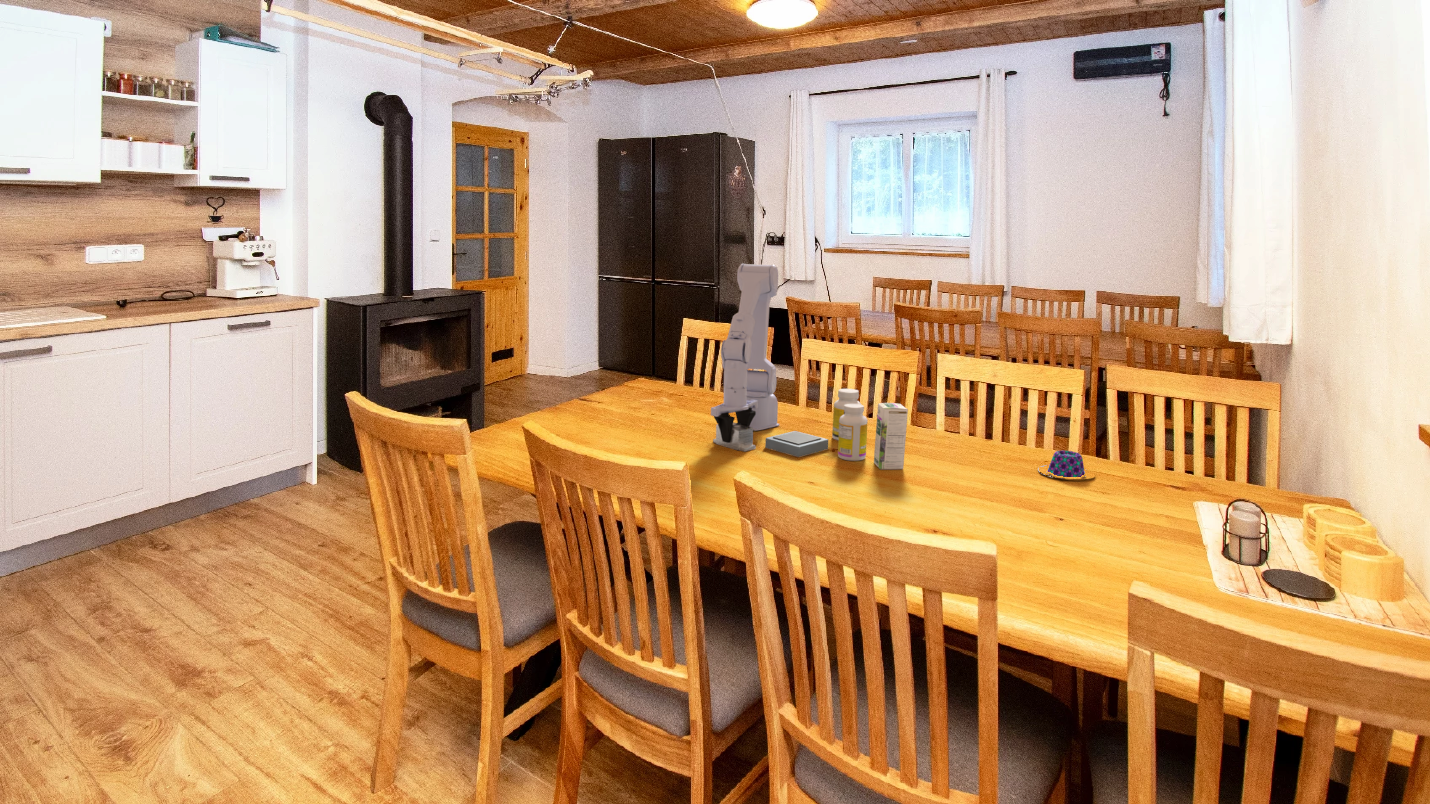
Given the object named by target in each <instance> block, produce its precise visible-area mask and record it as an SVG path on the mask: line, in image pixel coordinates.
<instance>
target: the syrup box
mask: <svg viewBox="0 0 1430 804" xmlns="http://www.w3.org/2000/svg"><path fill="white" fill-rule="evenodd" d="M908 411H909V409H908V408H906V407H905V406H904V405H903V404H901V403H895V402H880V403H878V404H877V415H876V427H875V439H874V440H875V441H874V456H873V457H874V458H873V464H874V465H876V467H878V469H879V470H904V464H905V451H906V440H907V439H906V437H907V427H908V425H907V424H908Z"/></svg>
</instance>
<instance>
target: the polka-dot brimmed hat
mask: <svg viewBox="0 0 1430 804" xmlns="http://www.w3.org/2000/svg"><path fill="white" fill-rule="evenodd" d="M1047 465H1049V468H1048V470H1047V471H1048V472H1051V473H1053V474H1054V475H1057V476H1063V477H1081V476H1082V475H1084V474H1085V471H1084V469H1085V466H1084V458H1083V456H1082V455H1081V454H1080V453H1079V452H1076V451H1072V450H1056V451H1055V452H1054V453H1053V456H1052V458H1051V461H1050V463H1049V464H1046V465H1045V464H1044V465H1041V466H1040V467H1044V466H1047ZM1037 471H1038V472H1039V473H1040V471H1039V467H1037ZM1043 475H1044V476H1046V475H1045V474H1043ZM1051 476H1052V475H1050V476H1048V477H1049V478H1052V477H1051Z"/></svg>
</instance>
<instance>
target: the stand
mask: <svg viewBox="0 0 1430 804" xmlns="http://www.w3.org/2000/svg"><path fill="white" fill-rule="evenodd" d="M764 444H765V449H768V450H773V451H776V452H779V453H783V454H786V455H790V456H792V457H796V458H802V457H806V456H809V455H812V454H815V453H819V451H820V452H823V451H827V450H828V449H829V439H827V438H824V437H822V436H821V437H820V436H818V435H817V436H816V435H812V434H809V433H805V432H801V431H797V430H793V431H789V432H785V433H781V434H776V435H773V436H772V435H771V436H769V437H765V443H764Z"/></svg>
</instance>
